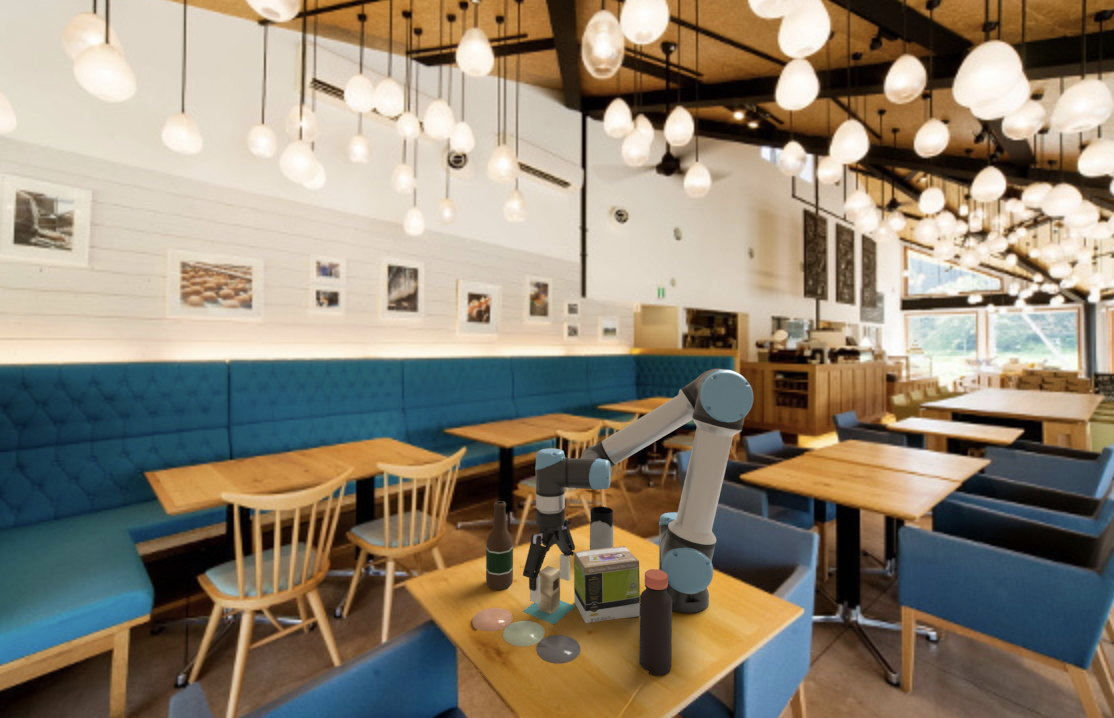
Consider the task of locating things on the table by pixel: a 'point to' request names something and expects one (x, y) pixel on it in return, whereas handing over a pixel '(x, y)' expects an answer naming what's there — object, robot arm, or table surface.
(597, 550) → the coffee pod box
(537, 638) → the saucer middle
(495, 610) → the pink round disc
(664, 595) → the vinegar
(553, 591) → the letter block
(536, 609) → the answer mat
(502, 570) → the beer bottle
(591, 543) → the black and grey mug
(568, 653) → the grey flat round disc
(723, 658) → the table surface
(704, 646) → the table surface
